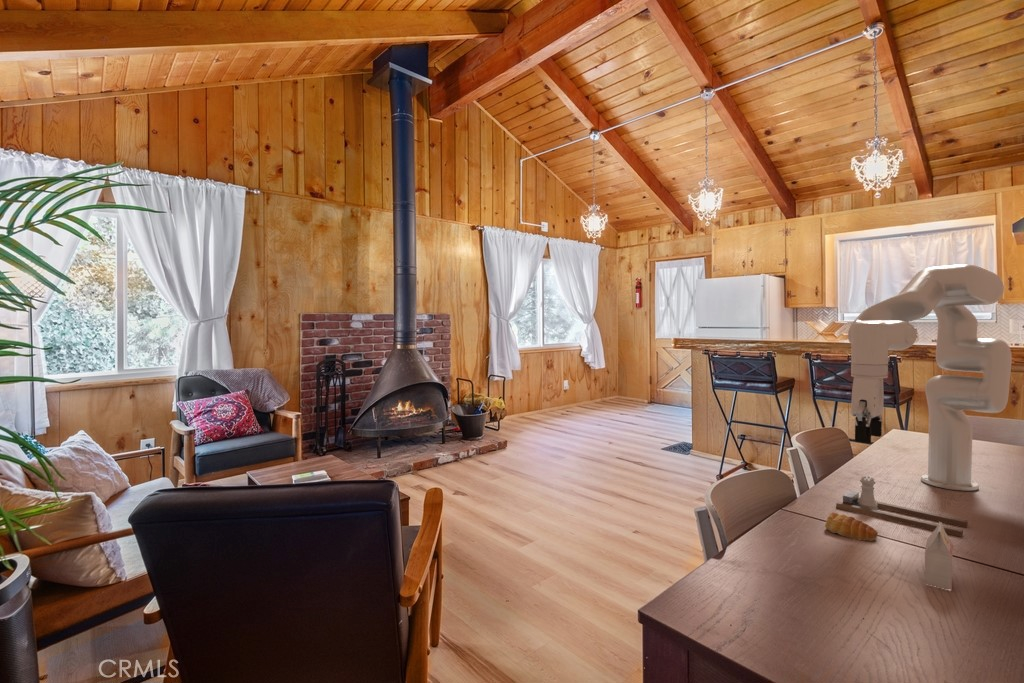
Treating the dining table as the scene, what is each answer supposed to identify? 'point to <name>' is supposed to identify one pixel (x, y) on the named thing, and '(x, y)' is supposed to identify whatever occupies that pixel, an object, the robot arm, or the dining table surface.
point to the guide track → (909, 520)
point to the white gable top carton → (938, 559)
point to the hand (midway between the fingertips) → (868, 438)
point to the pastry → (850, 527)
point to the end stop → (851, 498)
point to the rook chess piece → (867, 494)
